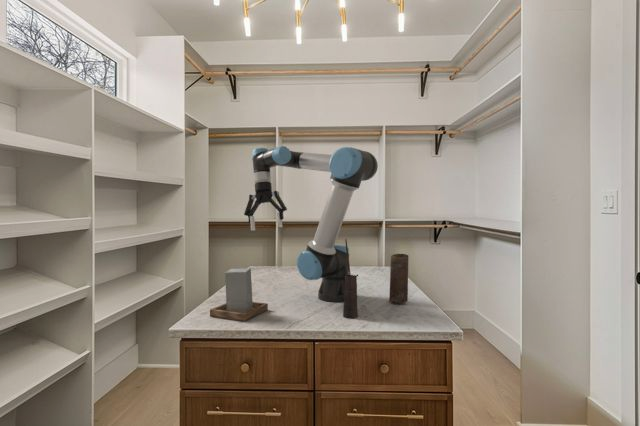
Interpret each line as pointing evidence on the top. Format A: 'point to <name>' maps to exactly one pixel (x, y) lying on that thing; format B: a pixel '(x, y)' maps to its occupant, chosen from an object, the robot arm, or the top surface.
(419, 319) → the top surface
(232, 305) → the skincare box
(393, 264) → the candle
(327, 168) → the robot arm
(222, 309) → the walnut tray
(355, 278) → the butter churn
